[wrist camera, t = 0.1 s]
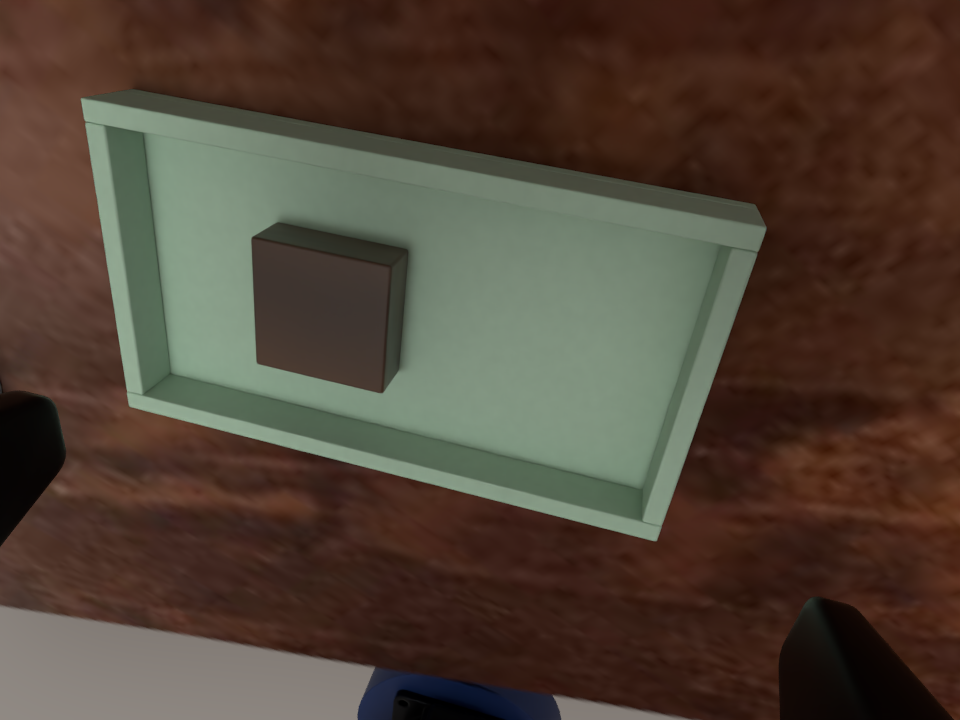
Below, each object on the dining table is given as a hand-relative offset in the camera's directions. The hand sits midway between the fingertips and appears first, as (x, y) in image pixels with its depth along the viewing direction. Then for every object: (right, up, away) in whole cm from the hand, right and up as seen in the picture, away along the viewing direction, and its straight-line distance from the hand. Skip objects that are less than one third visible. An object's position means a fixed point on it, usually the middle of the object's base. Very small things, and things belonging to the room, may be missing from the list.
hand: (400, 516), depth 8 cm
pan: (-1, +3, +12) cm, 13 cm away
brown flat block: (-3, +4, +12) cm, 13 cm away
